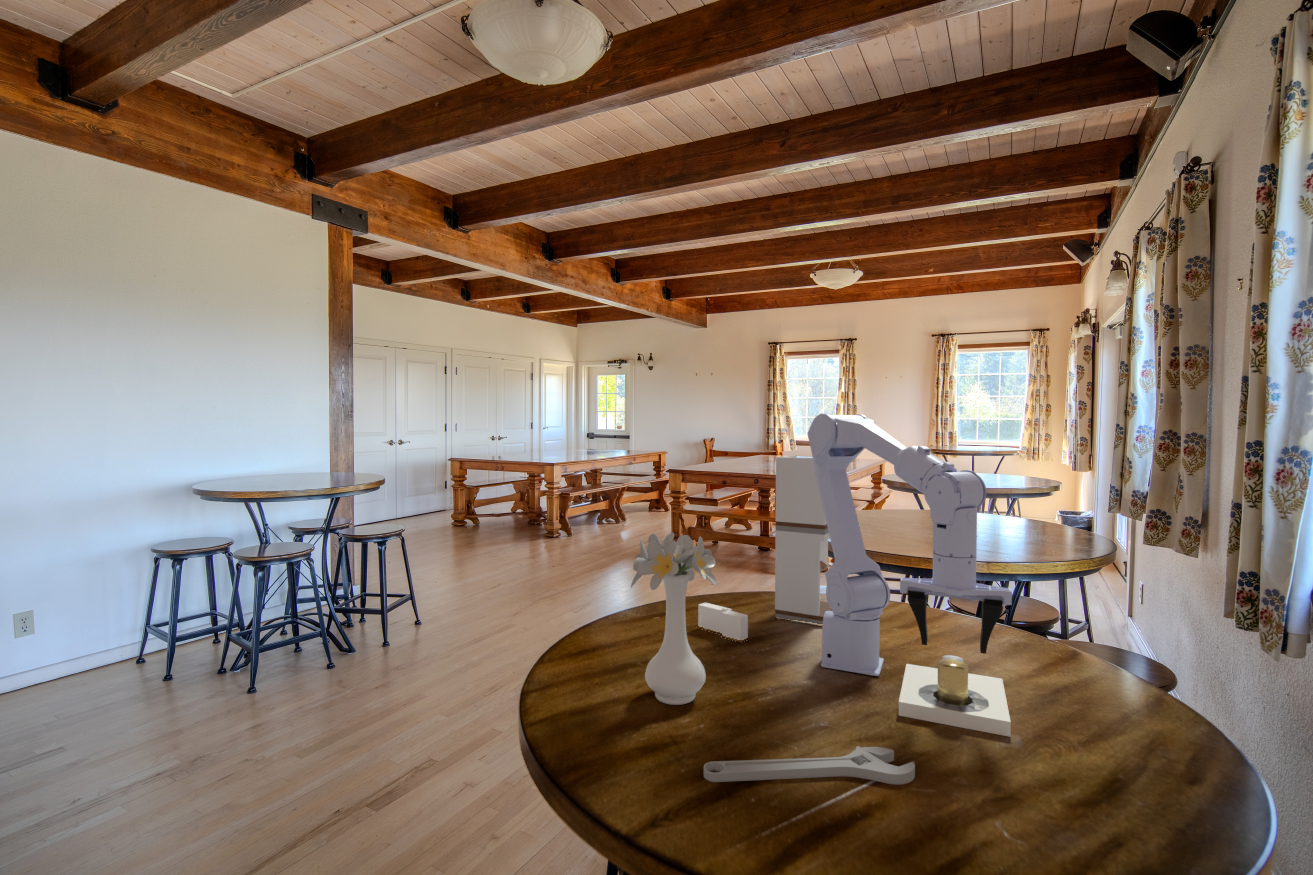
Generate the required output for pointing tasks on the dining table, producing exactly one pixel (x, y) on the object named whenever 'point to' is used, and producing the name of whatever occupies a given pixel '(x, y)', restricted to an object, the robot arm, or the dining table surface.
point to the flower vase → (674, 614)
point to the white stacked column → (799, 541)
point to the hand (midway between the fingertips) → (953, 646)
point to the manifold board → (980, 713)
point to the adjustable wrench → (816, 768)
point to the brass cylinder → (953, 682)
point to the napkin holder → (723, 621)
